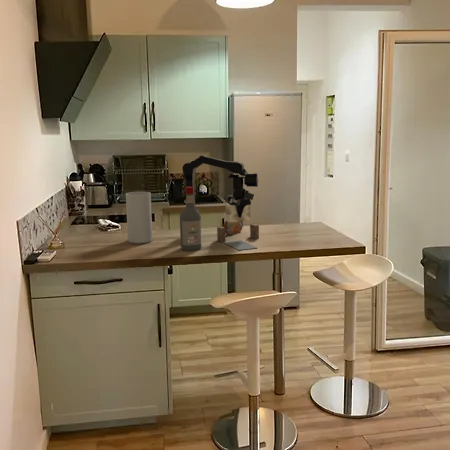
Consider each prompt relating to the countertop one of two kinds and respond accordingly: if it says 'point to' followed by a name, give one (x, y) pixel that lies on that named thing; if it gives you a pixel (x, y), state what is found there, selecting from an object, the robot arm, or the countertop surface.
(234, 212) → the block
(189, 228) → the liquor
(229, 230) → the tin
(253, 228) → the holder
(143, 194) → the cylinder vase
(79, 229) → the countertop surface
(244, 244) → the mat
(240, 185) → the robot arm
